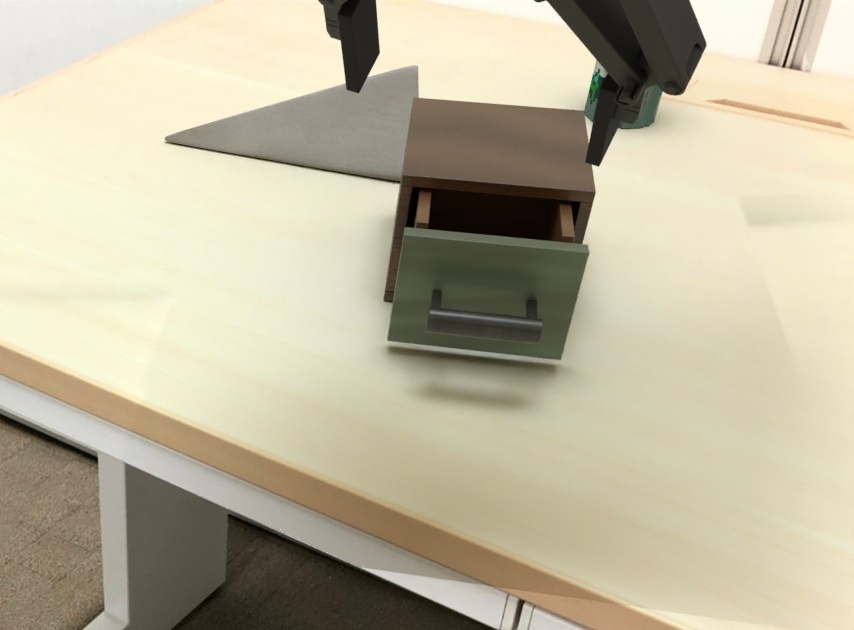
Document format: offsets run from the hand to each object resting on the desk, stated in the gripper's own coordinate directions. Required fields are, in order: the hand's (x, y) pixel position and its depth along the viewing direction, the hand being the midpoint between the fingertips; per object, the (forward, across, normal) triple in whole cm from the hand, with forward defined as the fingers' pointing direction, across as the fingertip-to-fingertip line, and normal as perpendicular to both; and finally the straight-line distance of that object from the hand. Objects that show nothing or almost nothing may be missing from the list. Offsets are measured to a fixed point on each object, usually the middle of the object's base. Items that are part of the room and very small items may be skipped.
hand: (478, 106), depth 67 cm
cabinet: (+28, -2, +5) cm, 29 cm away
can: (+50, 0, +33) cm, 60 cm away
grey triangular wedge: (+36, -21, +12) cm, 44 cm away
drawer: (+22, +1, -2) cm, 22 cm away
